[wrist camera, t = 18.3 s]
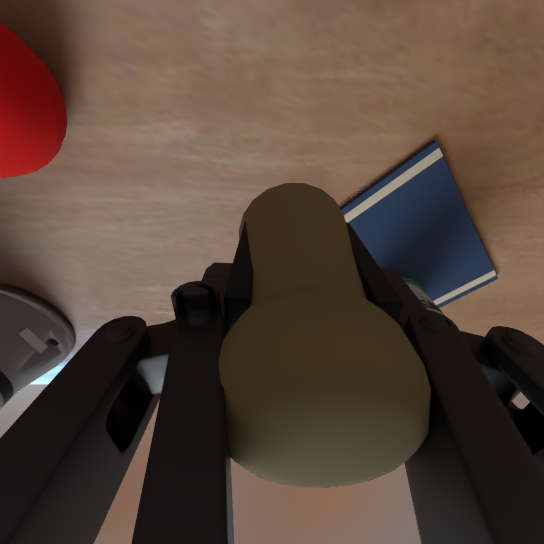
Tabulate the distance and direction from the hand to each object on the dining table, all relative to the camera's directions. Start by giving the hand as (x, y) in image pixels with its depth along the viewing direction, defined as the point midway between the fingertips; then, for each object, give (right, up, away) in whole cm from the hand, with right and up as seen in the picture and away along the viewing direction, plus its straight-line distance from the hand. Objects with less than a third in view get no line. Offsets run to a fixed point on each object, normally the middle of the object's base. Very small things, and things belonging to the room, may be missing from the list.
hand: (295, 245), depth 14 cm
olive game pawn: (0, +1, +1) cm, 1 cm away
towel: (+14, 0, +17) cm, 23 cm away
